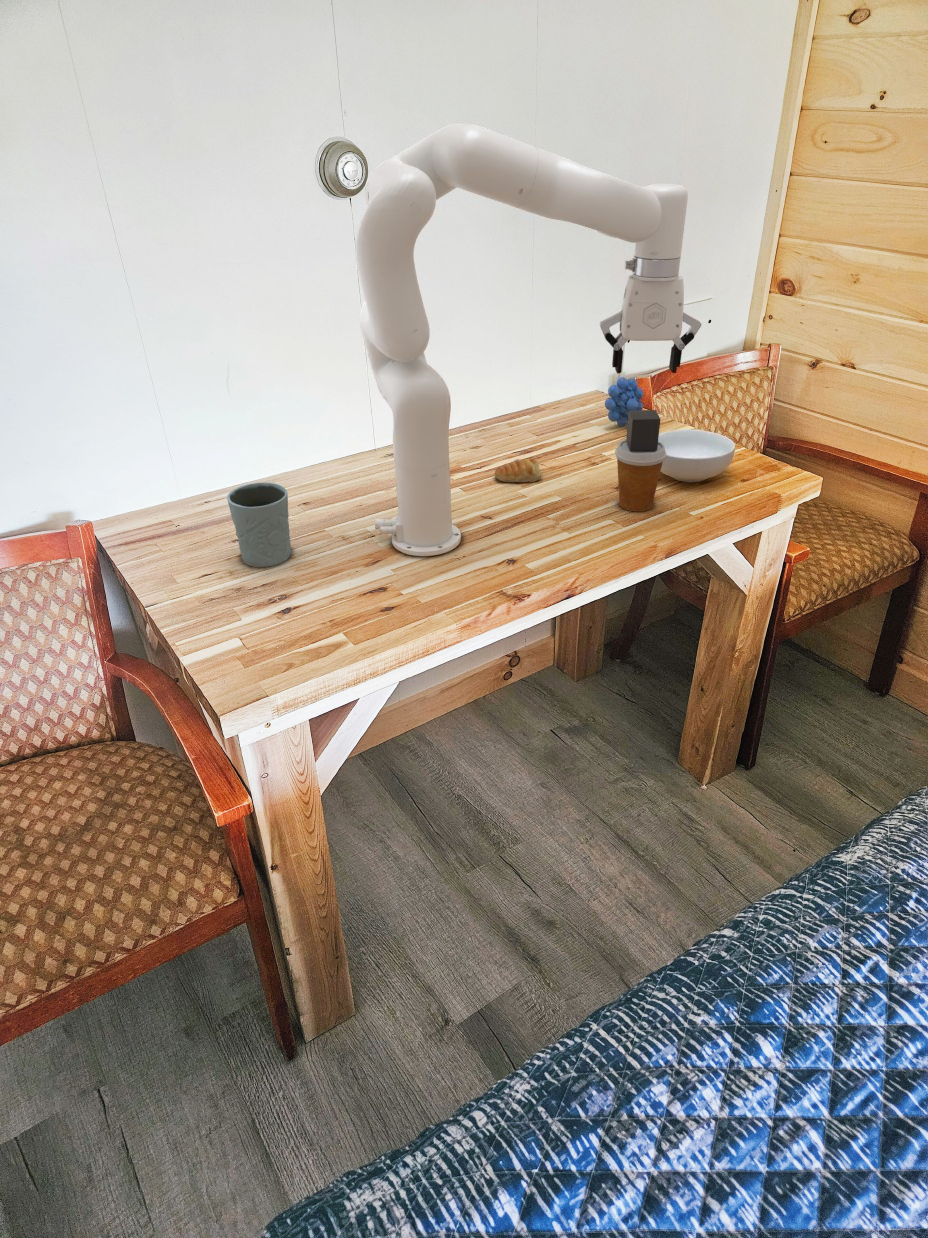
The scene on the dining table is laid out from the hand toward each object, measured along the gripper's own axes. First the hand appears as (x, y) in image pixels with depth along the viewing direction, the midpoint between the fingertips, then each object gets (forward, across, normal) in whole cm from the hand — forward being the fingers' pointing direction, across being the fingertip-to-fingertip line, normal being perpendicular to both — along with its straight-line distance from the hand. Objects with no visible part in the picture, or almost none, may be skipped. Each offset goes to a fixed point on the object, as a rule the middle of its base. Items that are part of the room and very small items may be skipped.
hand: (645, 371), depth 146 cm
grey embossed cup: (+27, -67, -19) cm, 75 cm away
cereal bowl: (+26, +14, +14) cm, 33 cm away
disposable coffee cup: (+26, +1, 0) cm, 26 cm away
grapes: (+26, +5, +43) cm, 50 cm away
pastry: (+26, -21, +14) cm, 37 cm away
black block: (+14, +1, 0) cm, 14 cm away
